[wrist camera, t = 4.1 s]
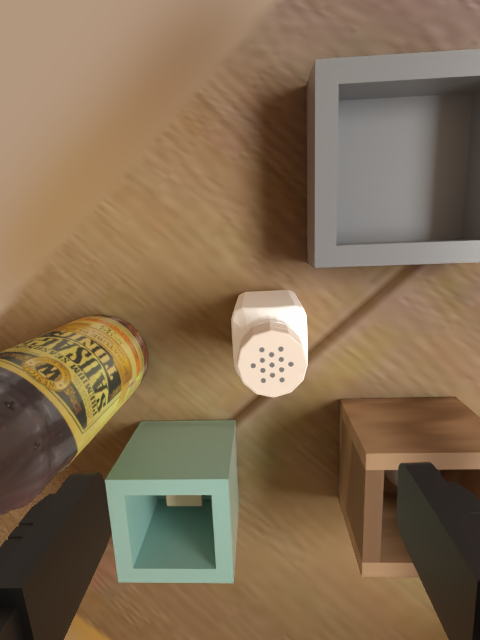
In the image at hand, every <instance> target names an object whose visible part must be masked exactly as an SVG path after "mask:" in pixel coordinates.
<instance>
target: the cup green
mask: <svg viewBox="0 0 480 640" xmlns="http://www.w3.org/2000/svg"><path fill="white" fill-rule="evenodd" d="M105 484H106V492H107V500H108V507H109V515H110V522H111V530H112V538H113V545H114V553H115V561H116V568H117V576H118V582H142V583H234V572H235V558H236V544H237V529H238V515H239V486H238V464H237V442H236V420H193V421H141V422H140V424H139V425H138V427H137V429H136V430H135V432H134V433H133V435H132V437H131V438H130V440H129V442H128V443H127V445H126V447H125V448H124V450H123V451H122V453H121V455H120V456H119V458H118V460H117V461H116V463H115V464H114V466H113V468H112V469H111V471H110V473H109V474H108V476H107V478H106V479H105Z"/></svg>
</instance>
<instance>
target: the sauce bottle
mask: <svg viewBox="0 0 480 640" xmlns="http://www.w3.org/2000/svg"><path fill="white" fill-rule="evenodd" d="M147 366H148V352H147V348H146V346H145V343H144V341H143V339H142V338H141V336H140V335H139V333H138V331H137V330H136V329H134V328H133V327H132V326H131V324H130V323H128V322H125V321H123V320H121V319H118V318H115V317H111V316H105V315H94V316H88V317H83V318H80V319H77V320H75V321H72V322H70V323H67V324H65V325H63V326H61V327H58V328H56V329H54V330H51V331H49V332H47V333H44V334H42V335H40V336H37V337H35V338H33V339H30V340H28V341H26V342H23V343H21V344H19V345H16V346H14V347H11V348H9V349H7V350H4V351H2V352H0V515H2V514H6V513H7V512H9V511H11V510H14V509H18V508H21V507H24V506H26V505H28V504H29V503H31V502H32V501H33V500H34V499H35V498H36V497H37V496H38V495H39V494H40V493H41V492H42V490H43V489H44V488H45V486H46V485H47V484H48V483H49V482H50V481H51V480H52V479H53V478H54V477H55V476H56V475H57V474H58V473H59V472H60V471H62V470H63V469H65V468H66V467H67V466H68V465H69V464H70V463H71V462H72V461H73V460H74V459H75V457H76V456H77V455H78V454H79V453H80V452H81V451H82V450H83V449H84V448H85V447H86V445H87V444H88V443H89V442H90V441H91V440H92V439H93V438H94V437H95V435H96V434H97V433H98V432H99V431H100V430H101V429H102V428H103V427H104V425H105V424H106V423H107V422H108V421H109V420H110V419H111V418H112V416H113V415H114V414H115V413H116V412H117V411H118V409H119V408H120V407H121V406H122V405H123V404H124V403H125V402H126V401H127V399H128V398H129V397H130V396H131V395H132V394H133V393H134V392H135V391H136V389H137V388H138V386H139V384H140V382H141V381H142V380H143V377H144V375H145V374H146V370H147Z"/></svg>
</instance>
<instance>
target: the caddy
mask: <svg viewBox="0 0 480 640" xmlns="http://www.w3.org/2000/svg"><path fill="white" fill-rule="evenodd" d="M469 262H480V49H470V50H454V51H438V52H423V53H407V54H391V55H375V56H359V57H343V58H327V59H315V62H314V65H313V68H312V71H311V74H310V77H309V80H308V83H307V263H308V264H310V265H311V266H313V267H314V268H326V267H355V266H383V265H412V264H440V263H469Z"/></svg>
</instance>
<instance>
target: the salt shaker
mask: <svg viewBox="0 0 480 640" xmlns="http://www.w3.org/2000/svg"><path fill="white" fill-rule="evenodd" d="M231 326H232V345H233V358H234V369H235V370H236V372H237V374H238V375H239V376H240V378H241V380H242V383H244V384H245V385H246V386H247V387H248V388H249V389H251V390H252V391H253V392H254V393H255V394H259V395H263V396H268V397H273V398H274V397H277V396H281V395H284V394H288V393H291V392H292V391H293V390H294V389H295V388H296V387H297V386H298V385H299V384H300V383H301V382H302V381H303V380H304V376H305V372H306V369H307V366H308V337H307V315H306V313H305V311H304V309H303V307H302V305H301V303H300V301H299V300H298V298H297V296H296V294H295V293H294V292H292V291H289V290H275V291H255V292H244V293H242V294H240V295H239V296H238V299H237V302H236V305H235V308H234V311H233V314H232V318H231Z"/></svg>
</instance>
